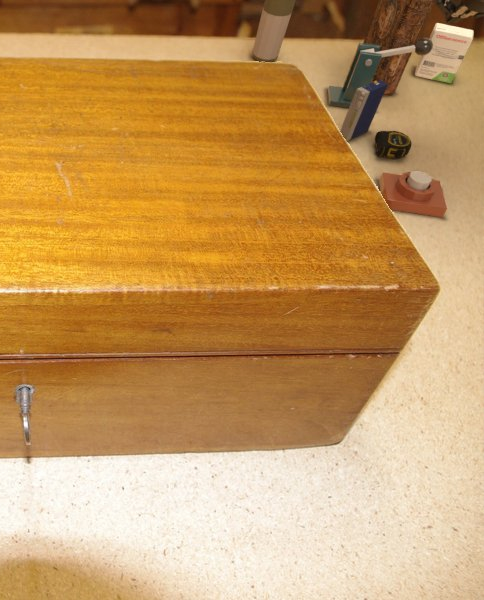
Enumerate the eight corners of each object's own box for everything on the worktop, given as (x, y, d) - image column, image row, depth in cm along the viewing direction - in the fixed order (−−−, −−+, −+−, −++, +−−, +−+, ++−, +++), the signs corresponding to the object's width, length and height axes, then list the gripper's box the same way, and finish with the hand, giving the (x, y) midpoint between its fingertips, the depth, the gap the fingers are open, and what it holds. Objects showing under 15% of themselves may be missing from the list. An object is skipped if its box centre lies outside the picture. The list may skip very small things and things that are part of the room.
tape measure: (371, 141, 153) (378, 126, 150) (405, 146, 152) (412, 132, 149) (373, 159, 148) (379, 144, 146) (407, 165, 147) (414, 150, 144)
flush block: (435, 189, 142) (444, 173, 139) (442, 217, 136) (451, 201, 133) (378, 180, 143) (386, 164, 140) (383, 208, 137) (391, 192, 134)
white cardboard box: (452, 75, 173) (475, 29, 164) (450, 84, 170) (474, 38, 161) (415, 66, 175) (436, 21, 167) (413, 76, 172) (434, 30, 164)
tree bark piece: (395, 96, 166) (442, -10, 147) (372, 94, 166) (416, -12, 148) (378, 61, 177) (420, -41, 159) (356, 60, 177) (395, -43, 159)
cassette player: (359, 127, 157) (379, 78, 148) (367, 132, 155) (388, 83, 147) (336, 136, 154) (356, 87, 145) (345, 142, 153) (365, 92, 144)
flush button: (426, 179, 138) (430, 172, 137) (429, 192, 135) (433, 184, 134) (405, 176, 139) (408, 169, 137) (407, 188, 136) (411, 181, 135)
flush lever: (431, 48, 153) (432, 33, 151) (433, 56, 151) (434, 41, 149) (360, 61, 159) (359, 46, 157) (361, 69, 157) (361, 54, 154)
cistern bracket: (371, 95, 166) (392, 44, 156) (373, 111, 161) (396, 59, 152) (327, 89, 167) (346, 38, 158) (328, 105, 163) (348, 53, 153)
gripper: (539, -36, 121) (489, 3, 138) (458, -45, 123) (419, -5, 140) (530, 7, 121) (482, 41, 138) (450, -2, 123) (411, 33, 140)
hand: (450, 18), depth 139 cm, fingers closed
